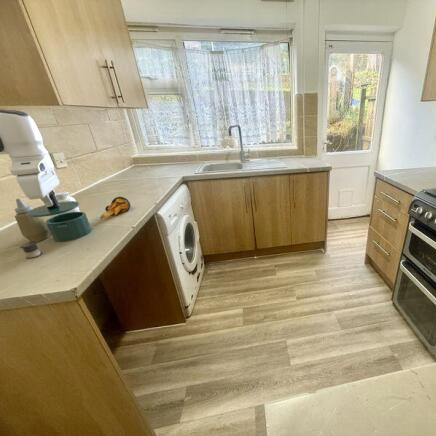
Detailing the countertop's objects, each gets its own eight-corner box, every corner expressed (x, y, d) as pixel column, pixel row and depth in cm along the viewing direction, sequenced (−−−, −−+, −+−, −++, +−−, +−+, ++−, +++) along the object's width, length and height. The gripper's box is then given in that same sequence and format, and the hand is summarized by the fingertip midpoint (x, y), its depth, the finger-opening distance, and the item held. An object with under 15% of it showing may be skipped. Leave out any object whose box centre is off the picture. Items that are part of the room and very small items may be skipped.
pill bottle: (86, 221, 119) (73, 191, 112) (66, 227, 112) (51, 197, 106) (80, 218, 123) (67, 189, 116) (60, 224, 116) (45, 194, 110)
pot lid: (21, 222, 77) (12, 205, 75) (36, 208, 88) (29, 193, 86) (75, 213, 83) (68, 197, 81) (83, 201, 94) (77, 187, 92)
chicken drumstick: (136, 199, 132) (119, 199, 115) (131, 218, 133) (113, 222, 115) (118, 194, 131) (98, 194, 113) (113, 214, 131) (92, 217, 113)
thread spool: (24, 260, 87) (17, 248, 85) (28, 255, 91) (22, 243, 89) (40, 257, 89) (34, 244, 87) (44, 251, 93) (38, 239, 91)
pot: (48, 248, 95) (38, 228, 92) (60, 230, 110) (52, 213, 106) (88, 240, 101) (80, 221, 97) (94, 224, 115) (88, 207, 112)
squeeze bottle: (57, 235, 105) (36, 196, 97) (34, 245, 98) (10, 203, 90) (45, 233, 107) (24, 194, 100) (22, 242, 100) (-2, 201, 93)
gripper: (32, 160, 86) (49, 197, 91) (6, 171, 69) (29, 215, 75) (55, 158, 89) (70, 194, 94) (36, 168, 72) (55, 211, 78)
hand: (52, 204), depth 85 cm, fingers closed on pot lid, 3 cm apart
